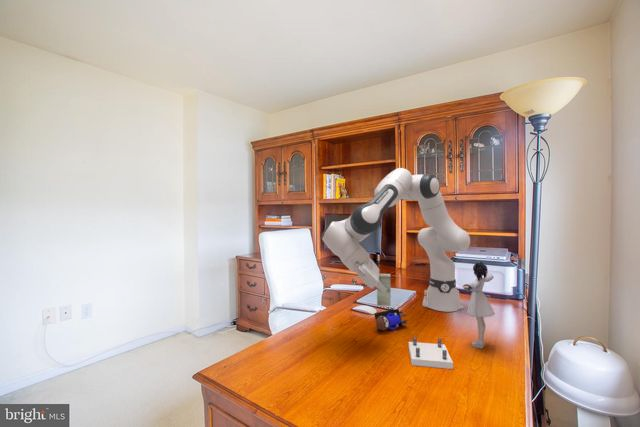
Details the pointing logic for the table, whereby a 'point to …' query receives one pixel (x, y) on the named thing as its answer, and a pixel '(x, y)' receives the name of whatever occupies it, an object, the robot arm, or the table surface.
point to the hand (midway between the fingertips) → (385, 288)
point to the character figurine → (389, 319)
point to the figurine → (479, 301)
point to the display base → (430, 354)
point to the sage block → (385, 298)
